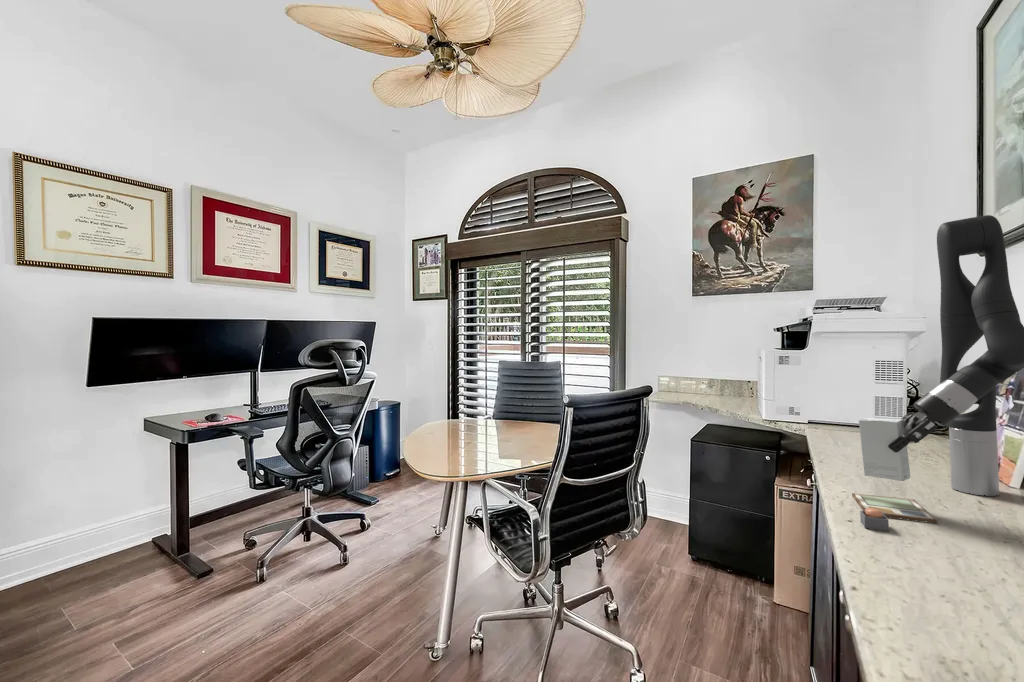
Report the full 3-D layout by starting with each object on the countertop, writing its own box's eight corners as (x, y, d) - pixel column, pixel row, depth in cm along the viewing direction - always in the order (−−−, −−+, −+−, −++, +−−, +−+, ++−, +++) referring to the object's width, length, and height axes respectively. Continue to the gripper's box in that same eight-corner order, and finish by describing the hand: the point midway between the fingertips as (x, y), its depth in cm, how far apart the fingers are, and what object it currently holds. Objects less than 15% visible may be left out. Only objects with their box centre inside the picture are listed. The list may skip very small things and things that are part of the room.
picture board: (852, 496, 121) (852, 492, 121) (914, 502, 115) (914, 499, 115) (866, 515, 108) (865, 511, 108) (937, 523, 102) (936, 519, 102)
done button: (864, 514, 103) (863, 507, 103) (880, 516, 102) (880, 509, 102) (867, 518, 101) (867, 511, 101) (884, 520, 99) (883, 513, 99)
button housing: (860, 521, 104) (860, 510, 104) (883, 524, 102) (882, 513, 102) (865, 528, 100) (864, 516, 100) (888, 531, 98) (888, 519, 98)
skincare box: (910, 478, 112) (907, 419, 113) (903, 482, 109) (899, 421, 109) (869, 472, 119) (866, 416, 120) (861, 475, 115) (858, 418, 116)
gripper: (919, 389, 116) (866, 431, 121) (941, 393, 103) (880, 440, 108) (948, 410, 113) (892, 452, 118) (973, 417, 101) (910, 464, 106)
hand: (886, 446), depth 113 cm, fingers closed on skincare box, 7 cm apart
